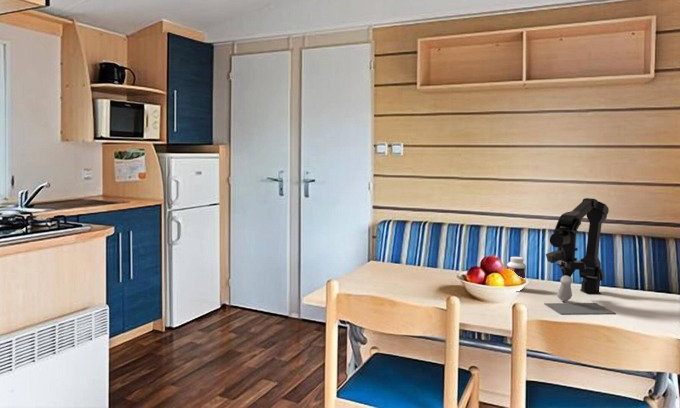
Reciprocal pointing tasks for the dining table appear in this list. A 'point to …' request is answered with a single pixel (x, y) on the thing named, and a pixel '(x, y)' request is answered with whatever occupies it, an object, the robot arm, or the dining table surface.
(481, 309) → the dining table surface
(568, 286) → the salt shaker
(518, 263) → the pill bottle
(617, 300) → the dining table surface
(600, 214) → the robot arm
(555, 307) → the mat
